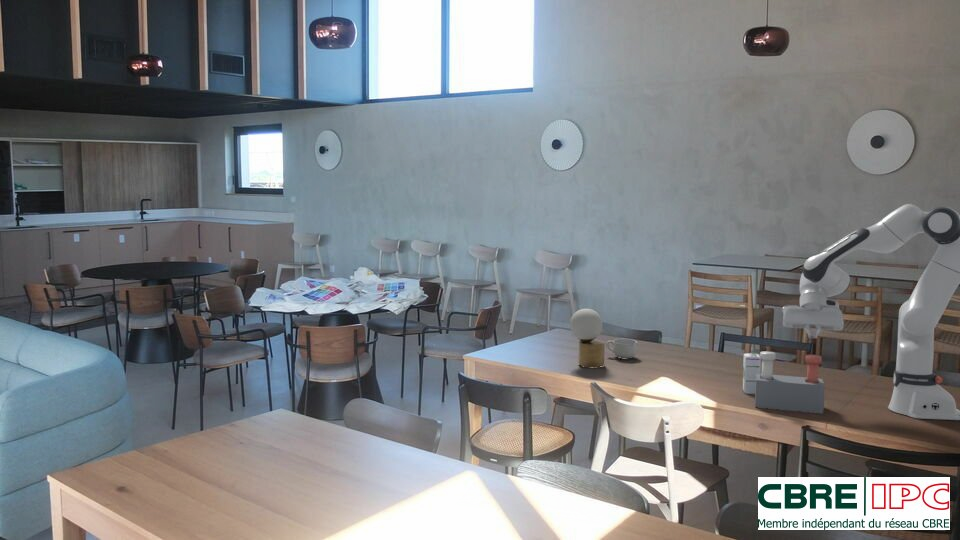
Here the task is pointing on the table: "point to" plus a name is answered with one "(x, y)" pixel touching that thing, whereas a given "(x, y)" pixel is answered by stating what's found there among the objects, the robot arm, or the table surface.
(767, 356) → the grey bulb-shaped piece
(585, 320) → the lamp
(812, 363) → the red plug
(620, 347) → the teacup
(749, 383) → the syrup box
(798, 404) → the block
